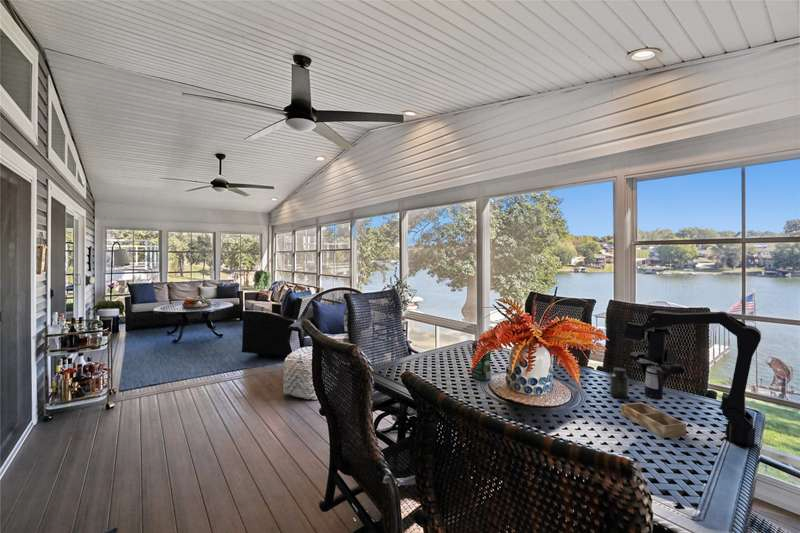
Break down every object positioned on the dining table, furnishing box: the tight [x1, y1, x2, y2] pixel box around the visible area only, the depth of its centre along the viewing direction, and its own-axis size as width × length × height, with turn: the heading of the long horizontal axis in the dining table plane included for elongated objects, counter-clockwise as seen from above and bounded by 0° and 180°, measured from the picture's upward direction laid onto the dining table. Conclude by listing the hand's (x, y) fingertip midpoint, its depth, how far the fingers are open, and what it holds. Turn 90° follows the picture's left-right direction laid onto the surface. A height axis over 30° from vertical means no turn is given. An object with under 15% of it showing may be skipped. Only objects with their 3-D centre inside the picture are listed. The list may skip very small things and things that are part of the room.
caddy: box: [620, 401, 687, 439], centre depth 136 cm, size 18×10×4 cm, turn 12°
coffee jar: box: [470, 339, 492, 381], centre depth 183 cm, size 10×8×19 cm
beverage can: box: [644, 365, 664, 402], centre depth 140 cm, size 6×6×12 cm
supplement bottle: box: [609, 367, 629, 400], centre depth 162 cm, size 7×7×12 cm
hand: (653, 384), depth 140 cm, fingers closed on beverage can, 6 cm apart
